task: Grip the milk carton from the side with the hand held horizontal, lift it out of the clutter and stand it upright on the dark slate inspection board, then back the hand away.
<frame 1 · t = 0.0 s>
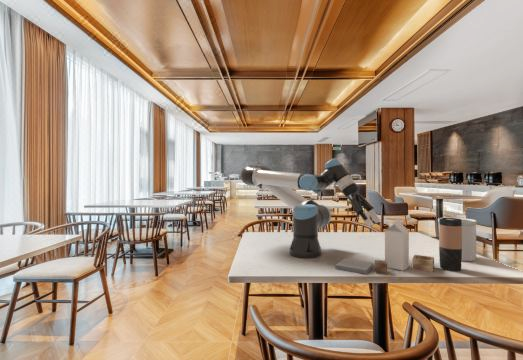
hand: (375, 224, 133), 15 cm above the table, tool tilted 35°, fingers open, 13 cm apart
slate board: (354, 267, 117), on the table
utensil holder: (456, 257, 132), on the table
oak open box: (423, 268, 116), on the table
milk carton: (396, 267, 117), on the table
walnut block: (380, 272, 111), on the table
travel mug: (450, 269, 115), on the table
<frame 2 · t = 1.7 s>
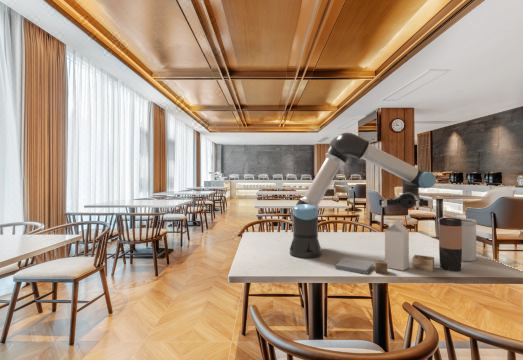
hand: (399, 204, 125), 25 cm above the table, tool horizontal, fingers open, 13 cm apart
nothing on the table moved.
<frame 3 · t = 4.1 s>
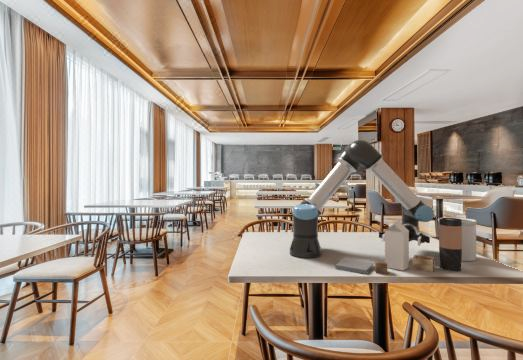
hand: (400, 240, 120), 10 cm above the table, tool horizontal, fingers open, 13 cm apart
nothing on the table moved.
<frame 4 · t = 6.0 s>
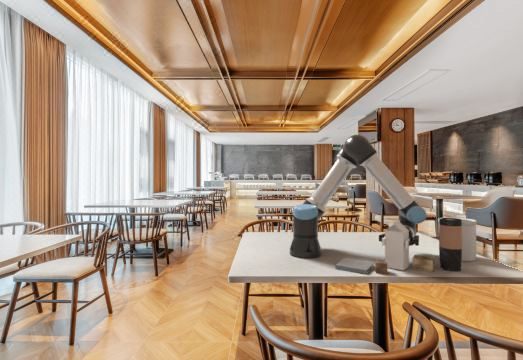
hand: (394, 243, 113), 11 cm above the table, tool horizontal, fingers closed on milk carton, 8 cm apart
milk carton: (396, 267, 117), on the table, touching gripper
everything else where it was.
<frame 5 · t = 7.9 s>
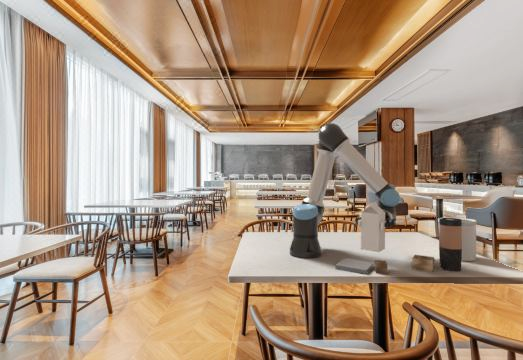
hand: (370, 225, 112), 18 cm above the table, tool horizontal, fingers closed on milk carton, 8 cm apart
milk carton: (372, 250, 116), point 7 cm above the table, touching gripper
everything else where it was.
when the fingers open (13 cm above the table, at t = 9.8 s): milk carton drops 1 cm, resting on slate board.
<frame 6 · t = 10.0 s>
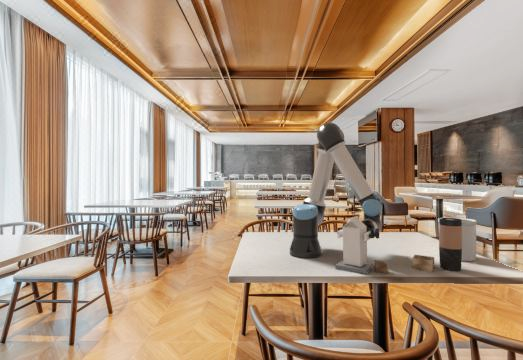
hand: (351, 236, 113), 13 cm above the table, tool horizontal, fingers open, 10 cm apart
milk carton: (355, 264, 117), point 1 cm above the table, touching slate board
everything else where it was.
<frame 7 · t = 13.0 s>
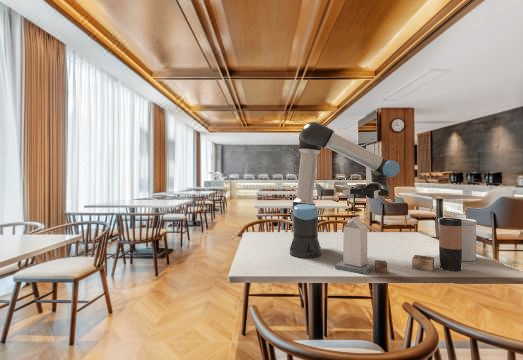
hand: (358, 193, 125), 30 cm above the table, tool horizontal, fingers open, 13 cm apart
nothing on the table moved.
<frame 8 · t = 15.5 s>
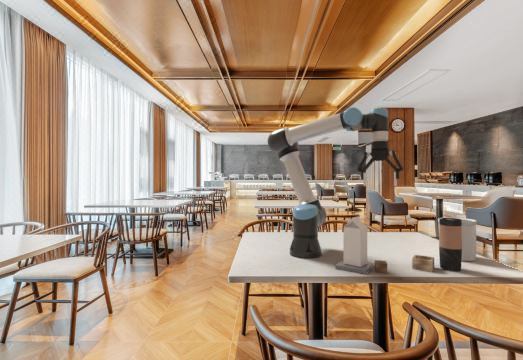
hand: (379, 186, 136), 33 cm above the table, tool pointing down, fingers open, 13 cm apart
nothing on the table moved.
at the end: milk carton inside the target area on the slate board (0.2 cm from its centre), point 1.3 cm above the slate board's base; milk carton tilted 0°; the gripper is holding nothing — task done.
